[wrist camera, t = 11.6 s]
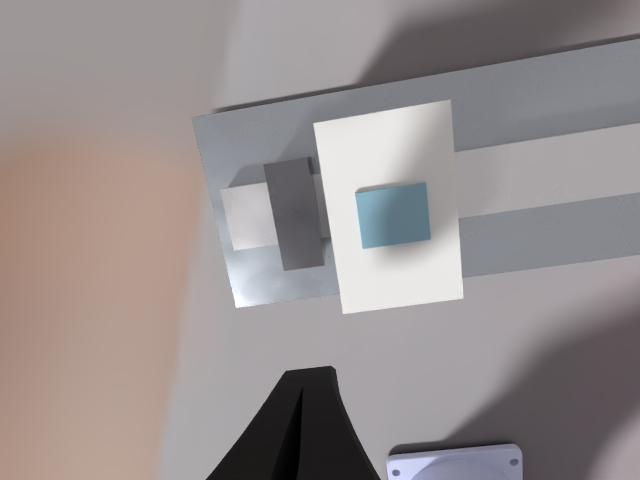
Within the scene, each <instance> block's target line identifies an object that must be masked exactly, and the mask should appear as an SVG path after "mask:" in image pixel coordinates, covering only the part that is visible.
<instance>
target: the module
mask: <svg viewBox="0 0 640 480" xmlns="http://www.w3.org/2000/svg"><path fill="white" fill-rule="evenodd" d="M313 124H314V130H315V137H316V143H317V150H318V156H319V162H320V169H321V175H322V181H323V188H324V194H325V200H326V207H327V213H328V219H329V226H330V232H331V238H332V245H333V251H334V257H335V264H336V270H337V277H338V283H339V289H340V296H341V302H342V308H343V314H347V313H355V312H362V311H370V310H378V309H385V308H393V307H401V306H408V305H416V304H424V303H431V302H439V301H447V300H454V299H462V298H463V286H462V270H461V254H460V238H459V222H458V206H457V190H456V174H455V158H454V142H453V126H452V110H451V99H450V100H444V101H439V102H433V103H427V104H421V105H416V106H410V107H404V108H398V109H393V110H387V111H381V112H376V113H370V114H364V115H358V116H353V117H347V118H341V119H335V120H330V121H324V122H318V123H313Z"/></svg>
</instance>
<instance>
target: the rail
mask: <svg viewBox="0 0 640 480" xmlns="http://www.w3.org/2000/svg"><path fill="white" fill-rule="evenodd" d="M450 99H451V110H452V126H453V142H454V158H455V174H456V190H457V206H458V222H459V238H460V254H461V270H462V278H466V277H474V276H481V275H489V274H497V273H504V272H512V271H520V270H527V269H535V268H542V267H550V266H558V265H565V264H573V263H581V262H588V261H596V260H603V259H611V258H619V257H626V256H634V255H640V39H635V40H629V41H624V42H618V43H612V44H607V45H601V46H595V47H590V48H584V49H578V50H572V51H567V52H561V53H555V54H550V55H544V56H538V57H533V58H527V59H521V60H516V61H510V62H504V63H499V64H493V65H487V66H482V67H476V68H470V69H465V70H459V71H453V72H447V73H442V74H436V75H430V76H425V77H419V78H413V79H408V80H402V81H396V82H391V83H385V84H379V85H374V86H368V87H362V88H357V89H351V90H345V91H340V92H334V93H328V94H323V95H317V96H311V97H305V98H300V99H294V100H288V101H283V102H277V103H271V104H266V105H260V106H254V107H249V108H243V109H237V110H232V111H226V112H220V113H215V114H209V115H204V116H198V117H192V122H193V126H194V130H195V134H196V139H197V143H198V147H199V152H200V156H201V160H202V164H203V169H204V173H205V177H206V181H207V185H208V190H209V194H210V198H211V202H212V207H213V211H214V215H215V219H216V224H217V228H218V232H219V236H220V240H221V245H222V249H223V253H224V257H225V262H226V266H227V270H228V274H229V279H230V283H231V287H232V291H233V295H234V300H235V304H236V308H237V307H245V306H253V305H260V304H268V303H275V302H283V301H291V300H298V299H306V298H314V297H321V296H329V295H336V294H340V289H339V283H338V277H337V270H336V264H335V257H334V251H333V245H332V238H331V232H330V226H329V219H328V213H327V207H326V200H325V194H324V188H323V181H322V175H321V169H320V162H319V156H318V150H317V143H316V137H315V130H314V124H313V123H318V122H324V121H330V120H335V119H341V118H347V117H353V116H358V115H364V114H370V113H376V112H381V111H387V110H393V109H398V108H404V107H410V106H416V105H421V104H427V103H433V102H439V101H444V100H450Z"/></svg>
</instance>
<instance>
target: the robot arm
mask: <svg viewBox="0 0 640 480" xmlns="http://www.w3.org/2000/svg"><path fill="white" fill-rule="evenodd" d="M512 459H513V460H512ZM386 464H387V472H388V479H389V480H523V471H522V451H521V450H520V448H519V447H518V446H517V445H515V444H503V445H492V446H481V447H471V448H460V449H450V450H439V451H428V452H418V453H407V454H397V455H391V456H389V457H388V458H387V460H386ZM395 470H396V471H395ZM206 480H381V479H380V478H379V476H378V474H377V473H376V471H375V469H374V467H373V465H372V464H371V462H370V460H369V458H368V456H367V454H366V453H365V451H364V449H363V447H362V445H361V443H360V441H359V439H358V437H357V435H356V433H355V431H354V428H353V426H352V424H351V422H350V419H349V417H348V415H347V412H346V410H345V407H344V405H343V402H342V399H341V396H340V393H339V387H338V381H337V375H336V369H334V368H333V367H332V366H324V367H316V368H307V369H298V370H290V371H286V372H285V373H284V374H283V375H282V377H281V378H280V380H279V381H278V383H277V384H276V386H275V387H274V389H273V390H272V392H271V394H270V395H269V397H268V398H267V400H266V401H265V402H264V404H263V405H262V407H261V408H260V410H259V411H258V413H257V414H256V415H255V417H254V418H253V420H252V421H251V422H250V424H249V425H248V427H247V428H246V430H245V431H244V432H243V434H242V435H241V436H240V438H239V439H238V440H237V442H236V443H235V444H234V445H233V447H232V448H231V449H230V450H229V452H228V453H227V454H226V456H225V457H224V458H223V459H222V461H221V462H220V463H219V464H218V466H217V467H216V468H215V469H214V471H213V472H212V473H211V474H210V475H209V476H208V478H207V479H206Z"/></svg>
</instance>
